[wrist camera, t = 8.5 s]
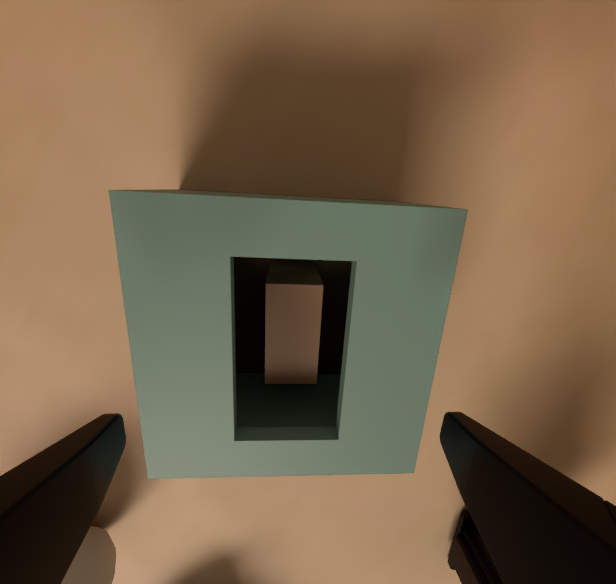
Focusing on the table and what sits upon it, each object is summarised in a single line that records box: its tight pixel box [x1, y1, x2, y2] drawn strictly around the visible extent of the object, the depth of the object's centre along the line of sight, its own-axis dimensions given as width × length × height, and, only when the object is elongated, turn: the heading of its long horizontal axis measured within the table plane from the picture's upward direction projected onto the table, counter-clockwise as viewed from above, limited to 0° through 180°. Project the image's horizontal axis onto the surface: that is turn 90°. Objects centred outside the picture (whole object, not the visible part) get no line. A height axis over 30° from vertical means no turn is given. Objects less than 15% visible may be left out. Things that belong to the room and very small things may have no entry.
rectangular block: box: [265, 259, 323, 384], centre depth 17 cm, size 2×5×5 cm, turn 177°
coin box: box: [109, 190, 468, 479], centre depth 16 cm, size 12×12×7 cm
